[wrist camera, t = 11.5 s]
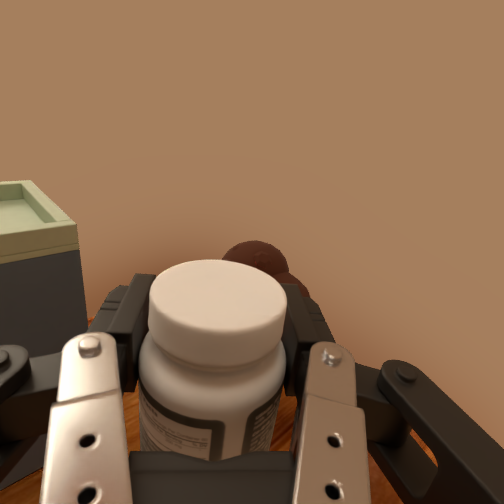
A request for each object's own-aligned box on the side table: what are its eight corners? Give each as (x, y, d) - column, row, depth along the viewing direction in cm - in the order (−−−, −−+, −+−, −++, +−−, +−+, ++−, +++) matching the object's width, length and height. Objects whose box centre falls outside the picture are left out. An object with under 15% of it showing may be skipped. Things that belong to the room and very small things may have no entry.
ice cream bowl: (154, 396, 30) (152, 243, 23) (240, 342, 38) (255, 217, 31) (240, 485, 24) (267, 311, 17) (320, 398, 31) (358, 257, 25)
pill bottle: (238, 406, 16) (261, 249, 13) (282, 510, 12) (334, 323, 9) (134, 432, 14) (130, 256, 11) (147, 566, 10) (146, 354, 7)
